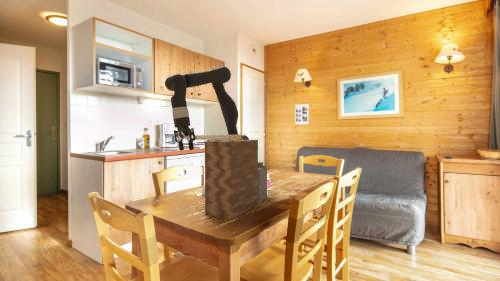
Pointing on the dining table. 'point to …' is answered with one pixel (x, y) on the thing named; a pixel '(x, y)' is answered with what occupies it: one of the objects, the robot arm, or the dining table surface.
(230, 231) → the dining table surface
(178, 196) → the dining table surface
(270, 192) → the dining table surface
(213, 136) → the t key
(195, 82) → the robot arm
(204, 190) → the teacup and saucer
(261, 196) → the hip flask
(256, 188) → the stand
